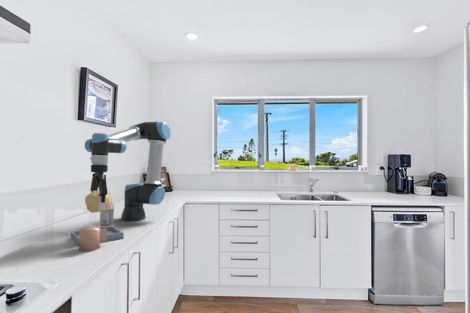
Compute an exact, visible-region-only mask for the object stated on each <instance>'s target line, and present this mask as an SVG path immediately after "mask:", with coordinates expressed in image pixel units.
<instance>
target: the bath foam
mask: <svg viewBox="0 0 470 313" xmlns="http://www.w3.org/2000/svg"><path fill="white" fill-rule="evenodd" d="M107 193H108V192H107ZM108 194H109V195H110V196H111V193H108ZM114 216H115V206H114V203H113V202H112V205H111V208H110V209H109V210H108V211H102V212H99V227H100V228H102V227H109V226H114V223H115V222H114V220H115V219H114V218H115V217H114Z"/></svg>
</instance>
